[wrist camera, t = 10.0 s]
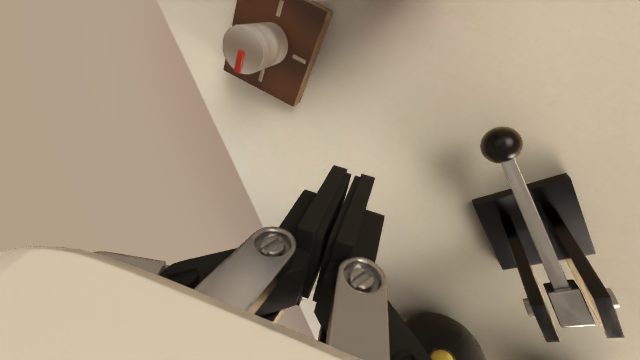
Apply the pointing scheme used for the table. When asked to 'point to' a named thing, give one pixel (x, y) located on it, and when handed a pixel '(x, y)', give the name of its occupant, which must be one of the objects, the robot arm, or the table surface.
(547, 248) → the ball knob lever
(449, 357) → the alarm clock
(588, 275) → the lever switch
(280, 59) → the tap knob
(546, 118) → the table surface
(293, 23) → the panel
